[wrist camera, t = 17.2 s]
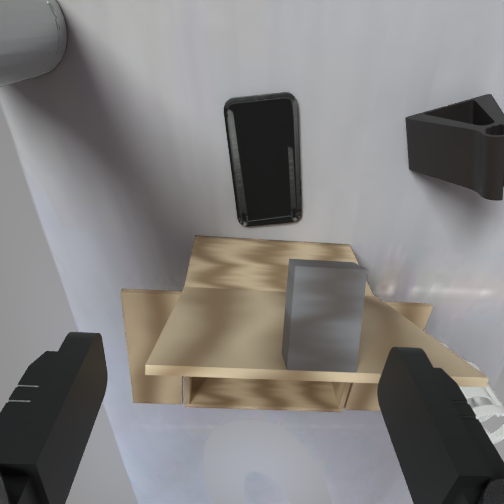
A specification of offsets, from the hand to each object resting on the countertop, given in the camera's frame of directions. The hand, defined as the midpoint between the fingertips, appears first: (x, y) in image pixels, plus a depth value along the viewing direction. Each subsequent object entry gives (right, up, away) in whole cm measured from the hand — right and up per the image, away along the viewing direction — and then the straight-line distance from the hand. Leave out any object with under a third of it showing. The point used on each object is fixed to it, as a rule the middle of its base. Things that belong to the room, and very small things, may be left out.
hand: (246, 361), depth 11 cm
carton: (+2, -3, +44) cm, 44 cm away
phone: (+2, +14, +35) cm, 37 cm away
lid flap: (+4, -3, +20) cm, 21 cm away
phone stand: (+22, +17, +33) cm, 43 cm away
